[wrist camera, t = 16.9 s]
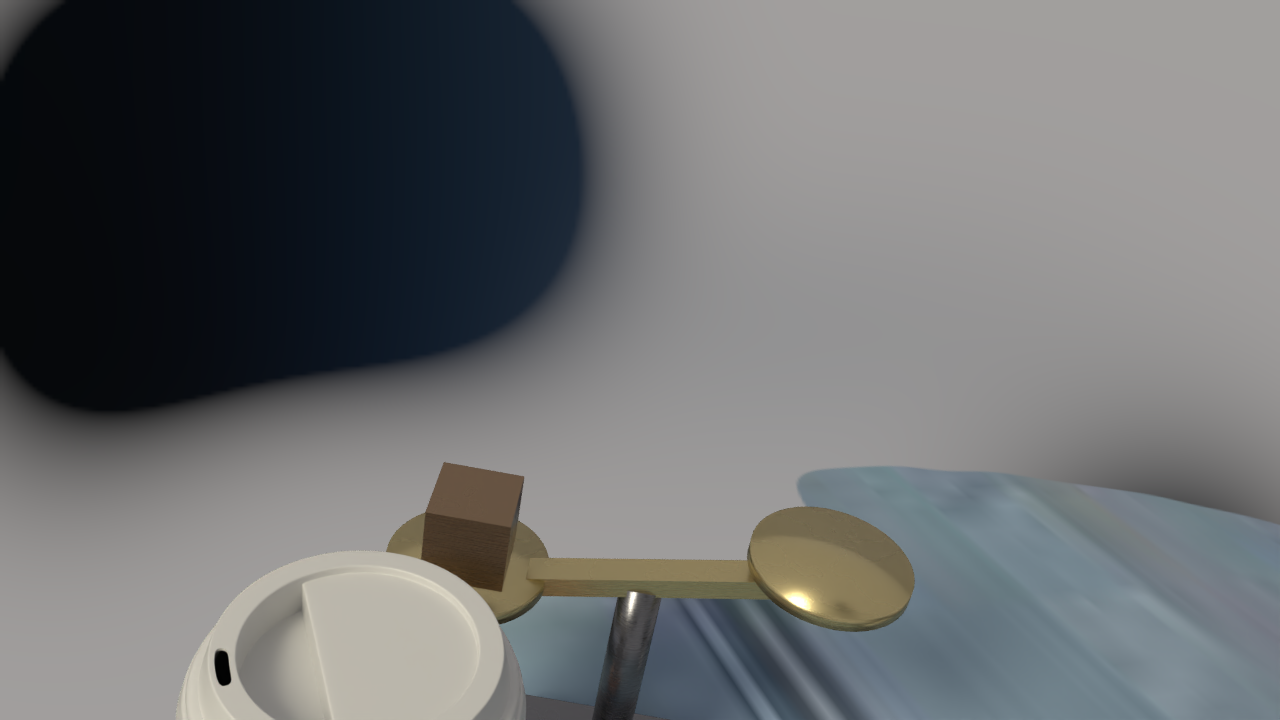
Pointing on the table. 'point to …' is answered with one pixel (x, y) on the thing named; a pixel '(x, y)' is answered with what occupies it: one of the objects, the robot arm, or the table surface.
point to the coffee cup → (355, 647)
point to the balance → (653, 575)
